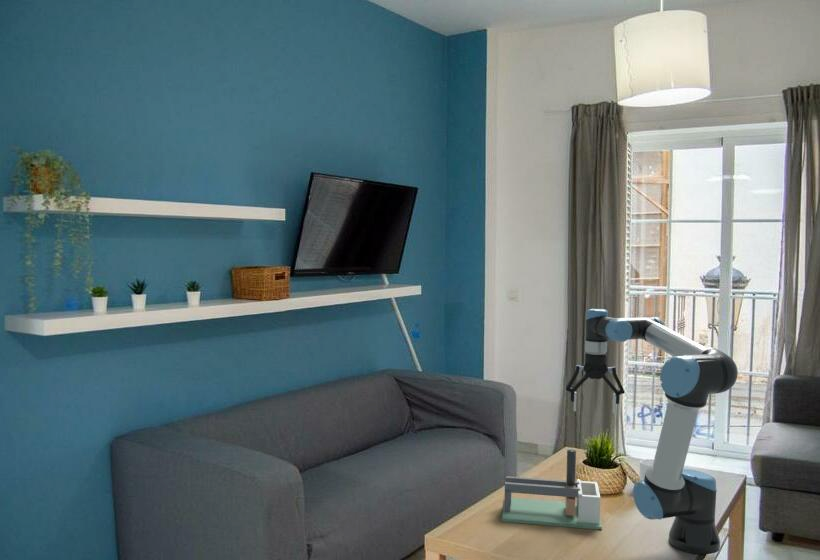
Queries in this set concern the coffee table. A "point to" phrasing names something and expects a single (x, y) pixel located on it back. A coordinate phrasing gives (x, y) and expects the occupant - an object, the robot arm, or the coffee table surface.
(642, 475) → the mug
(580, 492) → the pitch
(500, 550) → the coffee table surface
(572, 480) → the post
